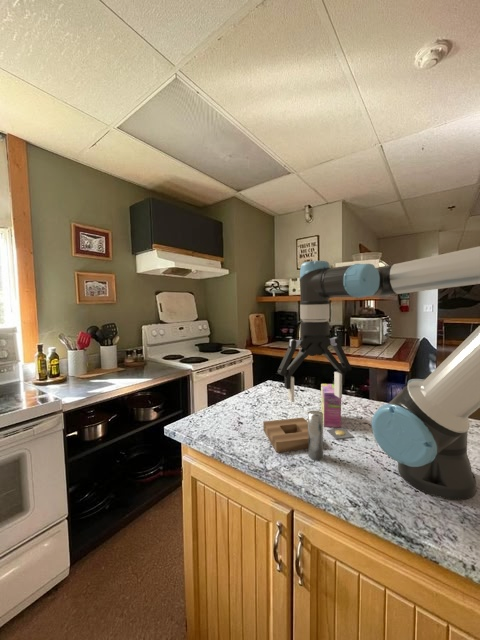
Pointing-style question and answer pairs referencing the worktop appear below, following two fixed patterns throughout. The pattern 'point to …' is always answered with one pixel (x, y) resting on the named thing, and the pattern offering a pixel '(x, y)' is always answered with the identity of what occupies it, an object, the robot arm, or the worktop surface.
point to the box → (330, 406)
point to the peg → (315, 435)
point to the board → (287, 434)
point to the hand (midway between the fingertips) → (314, 398)
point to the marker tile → (340, 433)
